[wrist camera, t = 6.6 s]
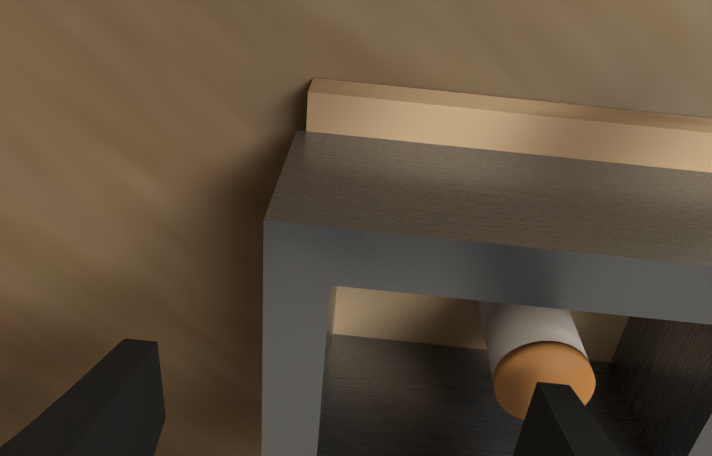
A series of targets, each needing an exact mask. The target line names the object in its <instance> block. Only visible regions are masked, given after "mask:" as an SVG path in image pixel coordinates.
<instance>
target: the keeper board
mask: <svg viewBox="0 0 712 456" xmlns="http://www.w3.org/2000/svg"><path fill="white" fill-rule="evenodd" d="M306 131H310V132H320V133H330V134H340V135H349V136H359V137H369V138H379V139H388V140H398V141H408V142H418V143H427V144H437V145H447V146H457V147H466V148H476V149H486V150H496V151H505V152H515V153H525V154H535V155H545V156H554V157H564V158H574V159H584V160H593V161H603V162H613V163H623V164H632V165H642V166H652V167H662V168H671V169H681V170H691V171H701V172H710V173H712V119H710V118H700V117H690V116H680V115H671V114H661V113H651V112H641V111H632V110H622V109H612V108H602V107H593V106H583V105H573V104H563V103H553V102H544V101H534V100H524V99H514V98H505V97H495V96H485V95H475V94H466V93H456V92H446V91H436V90H427V89H417V88H407V87H397V86H388V85H378V84H368V83H358V82H348V81H339V80H329V79H319V78H313V80H312V82H311V85H310V88H309V90H308V101H307V122H306ZM629 317H630V316H623V315H613V314H604V313H594V312H584V311H574V310H565V309H555V308H545V307H536V306H526V305H516V304H507V303H497V302H487V301H477V300H468V299H458V298H448V297H439V296H429V295H419V294H410V293H400V292H390V291H380V290H371V289H361V288H351V287H342V286H337V293H336V304H335V316H334V327H333V334H340V335H350V336H360V337H369V338H379V339H389V340H398V341H408V342H418V343H427V344H437V345H447V346H456V347H466V348H476V349H485V350H487V352H488V358H489V363H490V368H491V373H492V379H493V384H494V389H495V394H496V398H497V401H498V402H499V404H500V405H501V407H502V408H503V409H504V410H505V411H506V412H508V413H509V414H511V415H513V416H515V417H517V418H520V419H523V420H524V419H525V416H526V413H527V410H528V407H529V404H530V401H531V398H532V395H533V392H534V389H535V386H536V383H537V382H546V383H555V384H565V385H570V386H571V388H572V389H573V390H574V392H575V393H576V394H577V396H578V397H579V398H580V400H581V401H582V403H583V404H584V405H586V404H587V403H588V401H589V400H590V399H591V397H592V395H593V393H594V390H595V384H596V382H595V376H594V373H593V370H592V368H591V365H590V363H589V360H592V361H602V362H611V360H612V358H613V356H614V353H615V351H616V348H617V346H618V343H619V341H620V339H621V336H622V334H623V331H624V329H625V326H626V324H627V322H628V319H629Z"/></svg>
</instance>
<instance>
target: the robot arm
mask: <svg viewBox="0 0 712 456" xmlns="http://www.w3.org/2000/svg"><path fill="white" fill-rule="evenodd" d="M164 421H165V408H164V399H163V389H162V380H161V371H160V362H159V353H158V344H157V342H153V341H144V340H134V339H124V340H123V341H122V342H120V343H119V344H118V345H117V346H116V347H115V348H114V349H113V350H111V351H110V352H109V353H108V354H107V355H106V356H105V357H104V358H103V359H102V360H101V361H100V362H99V363H97V364H96V365H95V366H94V367H93V368H92V369H91V370H90V371H89V372H88V373H87V374H86V375H84V376H83V377H82V378H81V379H80V380H79V381H78V382H77V383H76V384H75V385H74V386H72V387H71V388H70V389H69V390H68V391H67V392H66V393H65V394H63V395H62V396H61V397H60V398H59V399H58V400H57V401H55V402H54V403H53V404H52V405H51V406H50V407H49V408H47V409H46V410H45V411H44V412H43V413H42V414H41V415H39V416H38V417H37V418H36V419H35V420H34V421H32V422H31V423H30V424H29V425H28V426H27V427H25V428H24V429H23V430H22V431H20V432H19V433H18V434H17V435H15V436H14V437H13V438H12V439H10V440H9V441H8V442H7V443H5V444H4V445H3V446H2V447H0V456H154V453H155V450H156V447H157V444H158V440H159V437H160V434H161V430H162V427H163V424H164ZM513 456H621V455H620V453H619V452H618V451H617V449H616V448H615V447H614V445H613V444H612V442H611V441H610V440H609V438H608V437H607V436H606V434H605V433H604V432H603V430H602V429H601V427H600V426H599V425H598V423H597V422H596V421H595V419H594V418H593V416H592V415H591V414H590V412H589V411H588V409H587V408H586V407H585V405H584V404H583V403H582V401H581V400H580V398H579V397H578V396H577V394H576V393H575V392H574V390H573V389H572V388H571V386H570V385H565V384H555V383H546V382H537V383H536V386H535V389H534V392H533V395H532V398H531V401H530V404H529V407H528V410H527V413H526V416H525V419H524V422H523V425H522V428H521V431H520V434H519V437H518V440H517V443H516V446H515V449H514V452H513Z"/></svg>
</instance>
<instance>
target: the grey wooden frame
mask: <svg viewBox="0 0 712 456" xmlns="http://www.w3.org/2000/svg"><path fill="white" fill-rule="evenodd" d="M337 286H342V287H351V288H361V289H371V290H380V291H390V292H400V293H410V294H419V295H429V296H439V297H448V298H458V299H468V300H477V301H487V302H497V303H507V304H516V305H526V306H536V307H545V308H555V309H565V310H574V311H584V312H594V313H604V314H613V315H623V316H630V317H629V319H628V322H627V324H626V326H625V329H624V331H623V334H622V336H621V339H620V341H619V343H618V346H617V348H616V351H615V353H614V356H613V358H612V360H611V362H602V361H592V360H589V363H590V365H591V368H592V370H593V373H594V376H595V382H596V384H595V390H594V393H593V395H592V397H591V399H590V400H589V401H588V403H587V404H586V405H585V407H586V408H587V409H588V411H589V412H590V414H591V415H592V416H593V418H594V419H595V421H596V422H597V423H598V425H599V426H600V427H601V429H602V430H603V432H604V433H605V434H606V436H607V437H608V438H609V440H610V441H611V442H612V444H613V445H614V447H615V448H616V449H617V451H618V452H619V453H620V455H621V456H712V173H710V172H701V171H691V170H681V169H671V168H662V167H652V166H642V165H632V164H623V163H613V162H603V161H593V160H584V159H574V158H564V157H554V156H545V155H535V154H525V153H515V152H505V151H496V150H486V149H476V148H466V147H457V146H447V145H437V144H427V143H418V142H408V141H398V140H388V139H379V138H369V137H359V136H349V135H340V134H330V133H320V132H310V131H301V130H297V131H296V134H295V136H294V139H293V142H292V144H291V147H290V150H289V152H288V155H287V158H286V161H285V163H284V166H283V169H282V171H281V174H280V177H279V180H278V182H277V185H276V188H275V190H274V193H273V196H272V198H271V201H270V204H269V207H268V209H267V212H266V215H265V217H264V221H263V333H262V446H261V456H513V452H514V449H515V446H516V443H517V440H518V437H519V434H520V431H521V428H522V425H523V422H524V420H523V419H520V418H517V417H515V416H513V415H511V414H509V413H508V412H506V411H505V410H504V409H503V408H502V407H501V405H500V404H499V402H498V401H497V398H496V394H495V389H494V384H493V379H492V373H491V368H490V363H489V358H488V352H487V350H485V349H476V348H466V347H456V346H447V345H437V344H427V343H418V342H408V341H398V340H389V339H379V338H369V337H360V336H350V335H340V334H333V327H334V316H335V304H336V293H337Z"/></svg>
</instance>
